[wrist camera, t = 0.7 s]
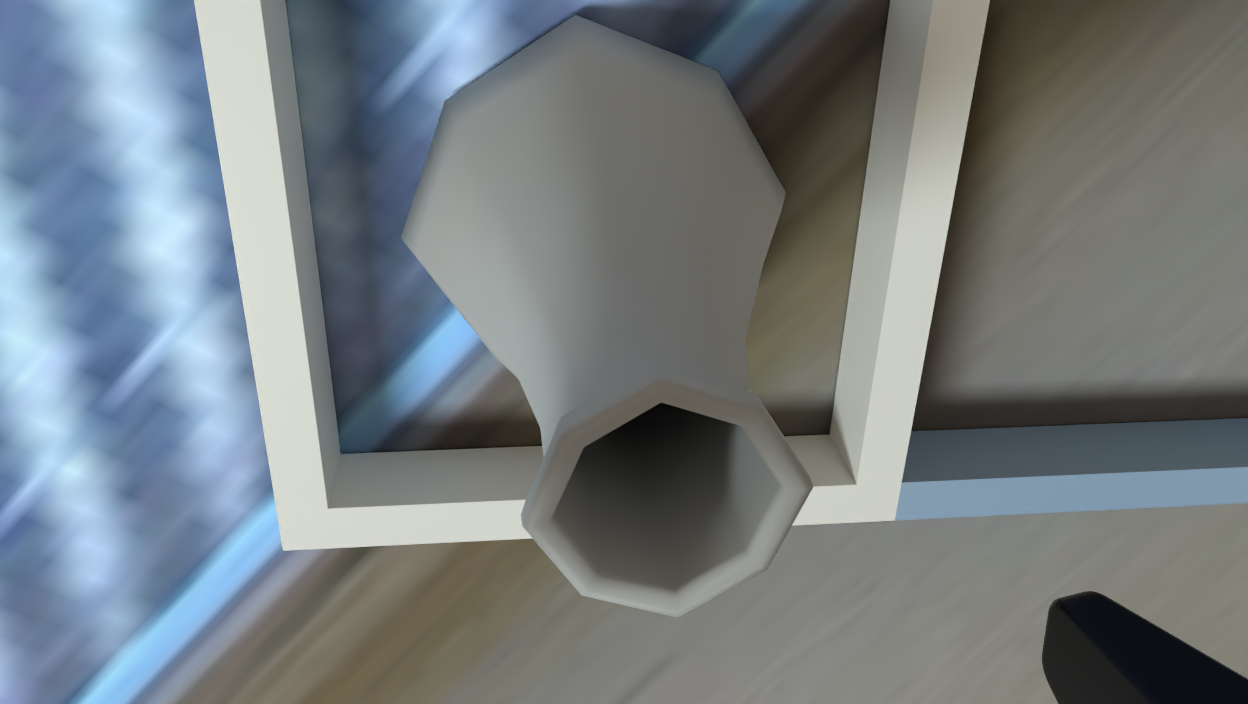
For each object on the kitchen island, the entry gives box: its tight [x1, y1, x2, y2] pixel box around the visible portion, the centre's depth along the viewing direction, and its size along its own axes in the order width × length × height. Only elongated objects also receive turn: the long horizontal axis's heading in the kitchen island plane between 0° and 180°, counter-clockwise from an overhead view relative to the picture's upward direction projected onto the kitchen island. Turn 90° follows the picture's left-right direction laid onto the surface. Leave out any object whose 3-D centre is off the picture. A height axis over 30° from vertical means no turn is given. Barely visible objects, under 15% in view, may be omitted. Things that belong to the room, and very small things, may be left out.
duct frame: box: [194, 0, 1248, 551], centre depth 20 cm, size 25×13×2 cm, turn 89°
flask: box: [401, 15, 813, 618], centre depth 16 cm, size 7×7×10 cm
